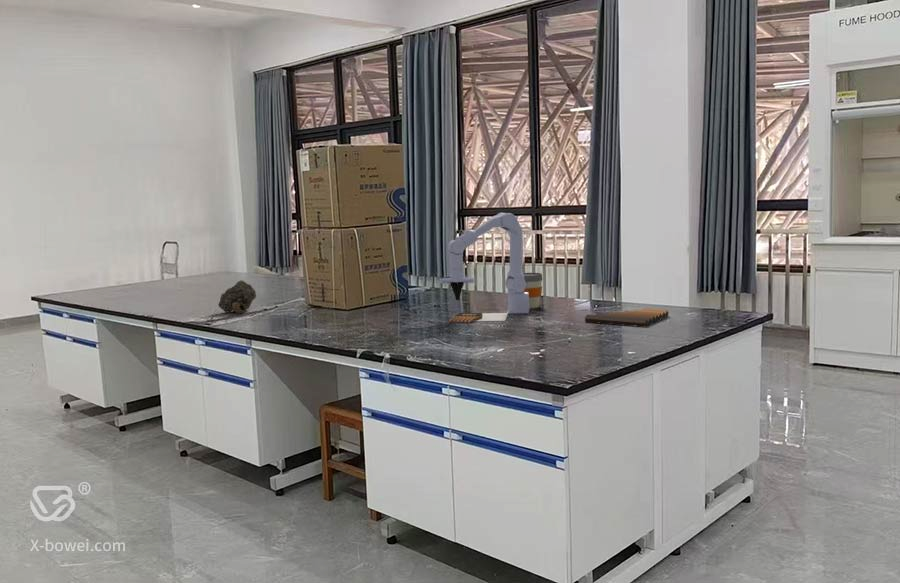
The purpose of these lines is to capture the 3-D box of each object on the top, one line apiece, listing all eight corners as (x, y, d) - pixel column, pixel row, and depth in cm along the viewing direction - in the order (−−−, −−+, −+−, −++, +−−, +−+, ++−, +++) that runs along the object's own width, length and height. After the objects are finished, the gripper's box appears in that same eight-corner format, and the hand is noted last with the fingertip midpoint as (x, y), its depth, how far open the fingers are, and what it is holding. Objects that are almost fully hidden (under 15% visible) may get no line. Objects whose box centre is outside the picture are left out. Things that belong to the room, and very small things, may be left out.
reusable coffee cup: (545, 308, 333) (544, 275, 331) (517, 309, 333) (516, 276, 331) (541, 303, 346) (540, 272, 344) (514, 305, 346) (513, 273, 344)
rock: (235, 275, 368) (244, 272, 355) (257, 294, 373) (267, 292, 360) (211, 303, 360) (220, 301, 347) (234, 322, 365) (243, 320, 353)
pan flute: (584, 323, 296) (644, 328, 281) (584, 315, 296) (644, 319, 281) (611, 313, 316) (668, 317, 301) (611, 305, 315) (668, 309, 300)
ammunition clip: (460, 317, 318) (447, 323, 308) (459, 312, 318) (446, 319, 307) (482, 317, 313) (470, 324, 303) (482, 313, 313) (469, 319, 302)
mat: (508, 313, 323) (508, 312, 323) (504, 321, 306) (504, 320, 306) (479, 314, 325) (479, 313, 325) (474, 321, 308) (474, 320, 308)
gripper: (474, 266, 318) (475, 298, 319) (441, 267, 320) (442, 298, 322) (472, 268, 311) (473, 300, 313) (438, 269, 313) (440, 301, 315)
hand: (457, 299), depth 317 cm, fingers closed
